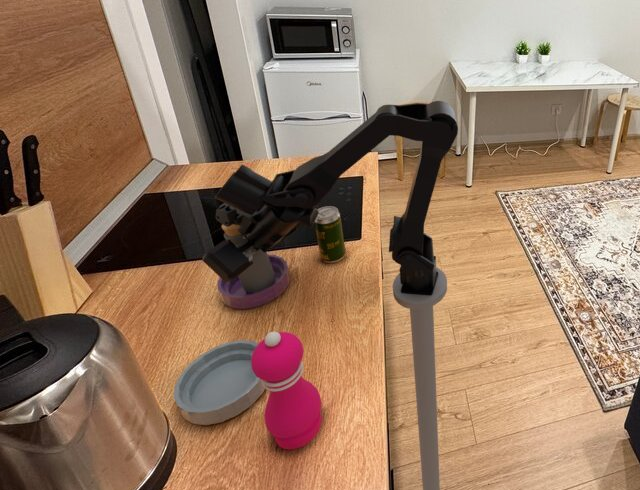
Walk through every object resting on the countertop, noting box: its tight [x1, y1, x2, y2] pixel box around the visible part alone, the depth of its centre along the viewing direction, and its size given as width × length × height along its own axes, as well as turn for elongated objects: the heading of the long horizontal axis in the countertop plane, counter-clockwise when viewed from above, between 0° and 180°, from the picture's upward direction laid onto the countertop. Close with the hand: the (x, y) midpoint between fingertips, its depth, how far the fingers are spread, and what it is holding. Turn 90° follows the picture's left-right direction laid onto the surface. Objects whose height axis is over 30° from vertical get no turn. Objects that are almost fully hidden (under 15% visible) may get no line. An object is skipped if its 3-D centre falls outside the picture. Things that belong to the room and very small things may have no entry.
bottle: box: [221, 223, 276, 293], centre depth 81 cm, size 6×6×15 cm
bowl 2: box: [173, 339, 266, 426], centre depth 66 cm, size 12×12×4 cm
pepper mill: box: [251, 331, 322, 451], centre depth 57 cm, size 7×7×20 cm
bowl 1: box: [216, 253, 291, 310], centre depth 84 cm, size 12×12×4 cm
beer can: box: [313, 205, 347, 264], centre depth 92 cm, size 5×5×12 cm
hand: (243, 253), depth 82 cm, fingers closed on bottle, 6 cm apart
